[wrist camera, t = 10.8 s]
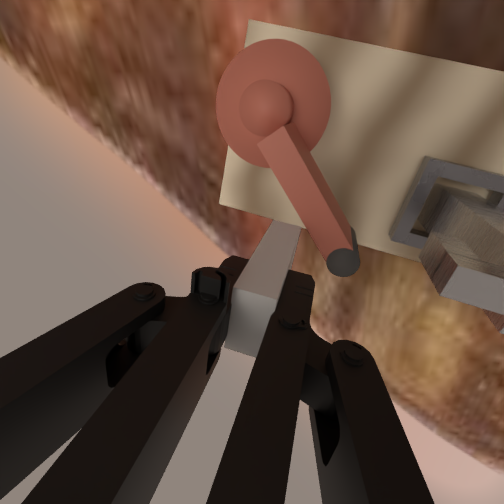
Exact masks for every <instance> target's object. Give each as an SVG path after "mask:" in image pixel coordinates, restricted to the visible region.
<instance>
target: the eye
mask: <svg viewBox="0 0 504 504" xmlns="http://www.w3.org/2000/svg"><path fill="white" fill-rule="evenodd" d="M437 177H442V178H446V179H450V180H454V181H458V182H462V183H466V184H470V185H474V186H478V187H482V188H486V189H489V190H493V191H494V192H493V193H492V195H491V197H490V198H489V200H488V201H490V202H492V203H493V204H495V205H497V206H498V207H500V208H501V209H503V210H504V175H502V174H498V173H494V172H490V171H486V170H482V169H478V168H474V167H470V166H466V165H462V164H458V163H454V162H450V161H446V160H442V159H438V158H433V157H429V156H424V159H423V161H422V163H421V165H420V167H419V169H418V171H417V174H416V176H415V178H414V180H413V182H412V184H411V186H410V189H409V191H408V193H407V195H406V197H405V199H404V201H403V203H402V206H401V208H400V210H399V212H398V214H397V216H396V218H395V221H394V223H393V225H392V227H391V229H390V231H389V233H388V235H389V237H390V240H391V241H394V242H398V243H401V244H405V245H408V246H412V247H415V248H419V249H422V248H423V247H424V245H425V243H426V241H427V239H428V237H429V234H428V233H427V232H424V231H420V230H417V229H413V228H412V227H413V225H414V223H415V221H416V219H417V217H418V215H419V213H420V211H421V209H422V207H423V205H424V203H425V201H426V199H427V197H428V195H429V193H430V191H431V189H432V187H433V185H434V183H435V181H436V179H437Z"/></svg>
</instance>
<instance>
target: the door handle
mask: <svg viewBox="0 0 504 504" xmlns="http://www.w3.org/2000/svg"><path fill="white" fill-rule="evenodd" d="M330 111H331V93H330V87H329V83H328V80H327V77H326V75H325V73H324V70H323V68H322V67H321V65H320V63H319V62H318V61H317V59H316V58H315V57H314V56H313V55H312V54H311V53H310V52H309V51H308V50H307V49H305V48H304V47H302V46H301V45H299V44H297V43H294V42H292V41H288V40H285V39H266V40H261V41H258V42H256V43H253V44H251V45H249V46H247V47H246V48H244V49H243V50H242V51H240V52H239V53H238V54H237V55H236V56H235V57H234V58H233V59H232V61H231V62H230V63H229V64H228V66H227V68H226V69H225V71H224V73H223V75H222V77H221V80H220V83H219V86H218V90H217V96H216V114H217V121H218V124H219V128H220V130H221V133H222V135H223V137H224V139H225V141H226V142H227V144H228V145H229V147H230V148H231V149H232V150H233V151H234V152H235V153H236V154H237V155H238V156H239V157H240V158H242V159H243V160H245V161H246V162H248V163H250V164H252V165H255V166H258V167H263V168H271V169H272V171H273V173H274V174H275V176H276V178H277V179H278V181H279V183H280V185H281V186H282V188H283V190H284V191H285V193H286V195H287V196H288V198H289V200H290V202H291V203H292V205H293V207H294V208H295V210H296V212H297V213H298V215H299V217H300V219H301V220H302V222H303V224H304V225H305V227H306V229H307V230H308V232H309V234H310V236H311V237H312V239H313V241H314V242H315V244H316V246H317V247H318V249H319V251H320V253H321V254H322V256H323V258H324V259H325V261H326V264H327V268H328V269H329V271H330V272H331V273H332V274H334V275H336V276H340V277H347V276H350V275H352V274H354V273H355V272H356V271H357V270H358V268H359V266H360V259H359V252H358V245H357V238H356V233H355V230H354V229H353V228H352V227H351V226H350V224H349V222H348V221H347V219H346V217H345V215H344V213H343V211H342V210H341V208H340V206H339V204H338V202H337V200H336V199H335V197H334V195H333V193H332V191H331V189H330V188H329V186H328V184H327V182H326V180H325V178H324V177H323V175H322V173H321V171H320V169H319V167H318V166H317V164H316V162H315V160H314V158H313V156H312V155H311V153H310V151H312V149H313V148H314V147H315V146H316V145H317V143H318V142H319V140H320V139H321V137H322V135H323V133H324V131H325V129H326V127H327V124H328V121H329V117H330Z"/></svg>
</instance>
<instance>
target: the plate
mask: <svg viewBox="0 0 504 504" xmlns="http://www.w3.org/2000/svg"><path fill="white" fill-rule="evenodd" d="M266 39H285V40H288V41H292V42H294V43H297V44H299V45H301V46H302V47H304V48H305V49H307V50H308V51H309V52H310V53H311V54H312V55H313V56H314V57H315V58H316V59H317V61H318V62H319V63H320V65H321V67H322V68H323V70H324V73H325V75H326V77H327V80H328V83H329V87H330V93H331V111H330V117H329V121H328V124H327V127H326V129H325V131H324V133H323V135H322V137H321V139H320V140H319V142H318V143H317V145H316V146H315V147H314V148H313V149H312V151H310V153H311V155H312V156H313V158H314V160H315V162H316V164H317V166H318V167H319V169H320V171H321V173H322V175H323V177H324V178H325V180H326V182H327V184H328V186H329V188H330V189H331V191H332V193H333V195H334V197H335V199H336V200H337V202H338V204H339V206H340V208H341V210H342V211H343V213H344V215H345V217H346V219H347V221H348V222H349V224H350V226H351V227H352V228H353V229H354V230H355V233H356V238H357V244H359V245H362V246H366V247H369V248H372V249H376V250H379V251H383V252H386V253H390V254H393V255H396V256H400V257H403V258H407V259H410V260H413V261H417V262H420V263H422V262H421V260H420V259H419V257H418V256H419V254H420V252H421V250H422V249H419V248H415V247H412V246H408V245H405V244H401V243H398V242H394V241H391V240H390V237H389V235H388V233H389V231H390V229H391V227H392V225H393V223H394V221H395V218H396V216H397V214H398V212H399V210H400V208H401V206H402V203H403V201H404V199H405V197H406V195H407V193H408V191H409V189H410V186H411V184H412V182H413V180H414V178H415V176H416V174H417V171H418V169H419V167H420V165H421V163H422V161H423V159H424V156H429V157H433V158H438V159H442V160H446V161H450V162H454V163H458V164H462V165H466V166H470V167H474V168H478V169H482V170H486V171H490V172H494V173H498V174H502V175H504V72H503V71H498V70H493V69H488V68H483V67H478V66H474V65H469V64H464V63H459V62H454V61H449V60H444V59H440V58H435V57H430V56H425V55H420V54H415V53H411V52H406V51H401V50H396V49H391V48H386V47H381V46H377V45H372V44H367V43H362V42H357V41H352V40H347V39H343V38H338V37H333V36H328V35H323V34H318V33H314V32H309V31H304V30H299V29H294V28H289V27H284V26H280V25H275V24H270V23H265V22H260V21H255V20H251V19H249V22H248V28H247V34H246V41H245V47H244V48H246V47H247V46H249V45H251V44H253V43H256V42H258V41H261V40H266ZM435 183H438V184H442V185H446V186H450V187H454V188H458V189H461V190H465V191H469V192H473V193H477V194H479V195H480V196H482V197H483V198H485V199H487V200H489V198H490V197H491V195H492V193H493V192H494V191H493V190H489V189H486V188H482V187H478V186H474V185H470V184H466V183H462V182H458V181H454V180H450V179H446V178H442V177H437V179H436V181H435ZM435 183H434V185H435ZM434 185H433V187H434ZM433 187H432V189H433ZM432 189H431V191H432ZM431 191H430V193H431ZM430 193H429V195H430ZM429 195H428V197H429ZM428 197H427V199H428ZM427 199H426V201H427ZM426 201H425V203H426ZM425 203H424V205H425ZM219 204H222V205H225V206H229V207H232V208H236V209H239V210H243V211H246V212H249V213H253V214H256V215H260V216H263V217H266V218H270V219H273V220H277V221H280V222H284V223H288V224H292V225H296V226H300V227H301V228H304V229H306V227H305V225H304V224H303V222H302V220H301V219H300V217H299V215H298V213H297V212H296V210H295V208H294V207H293V205H292V203H291V202H290V200H289V198H288V196H287V195H286V193H285V191H284V190H283V188H282V186H281V185H280V183H279V181H278V179H277V178H276V176H275V174H274V173H273V171H272V169H271V168H263V167H258V166H255V165H252V164H250V163H248V162H246V161H245V160H243V159H242V158H240V157H239V156H238V155H237V154H236V153H235V152H234V151H233V150H232V149H231V148H230V147H229V145H228V151H227V157H226V164H225V170H224V176H223V182H222V188H221V194H220V201H219ZM424 205H423V207H424ZM423 207H422V209H423ZM422 209H421V211H422ZM421 211H420V213H421ZM420 213H419V215H420ZM419 215H418V217H419ZM418 217H417V219H416V221H415V223H414V225H413V227H412V228H413V229H417V230H420V231H424V232H426V230H425V229H424V227H423V226H422V225H421V223H420V222H419V221H418Z"/></svg>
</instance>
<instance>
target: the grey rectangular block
mask: <svg viewBox="0 0 504 504" xmlns="http://www.w3.org/2000/svg"><path fill="white" fill-rule="evenodd" d="M418 221H419V222H420V223H421V225H422V226H423V227H424V229H425V230H426V232H427V233H428V234H429V237H428V239H427V241H426V243H425V245H424V247H423V248H422V250H421V252H420V254H419V256H418V257H419V259H420V260H421V262H422V264H423V266H424V268H425V270H426V271H427V273H428V275H429V277H430V279H431V281H432V282H433V284H434V286H435V288H436V290H437V292H438V293H439V295H440V296H443V297H446V298H450V299H453V300H456V301H459V302H463V303H466V304H469V305H473V306H476V307H479V308H482V309H483V311H484V312H485V313H486V315H487V316H488V317H489V319H490V320H491V322H492V323H493V324H494V326H495V327H496V329H497V330H498V331H499V333H502V334H504V210H503V209H501V208H500V207H498V206H497V205H495V204H493V203H492V202H490V201H488V200H487V199H485V198H483V197H482V196H480V195H479V194H477V193H473V192H469V191H465V190H461V189H458V188H454V187H450V186H446V185H442V184H438V183H435V185H434V187H433V189H432V191H431V193H430V195H429V197H428V199H427V201H426V203H425V205H424V207H423V209H422V211H421V213H420V215H419V217H418Z"/></svg>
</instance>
